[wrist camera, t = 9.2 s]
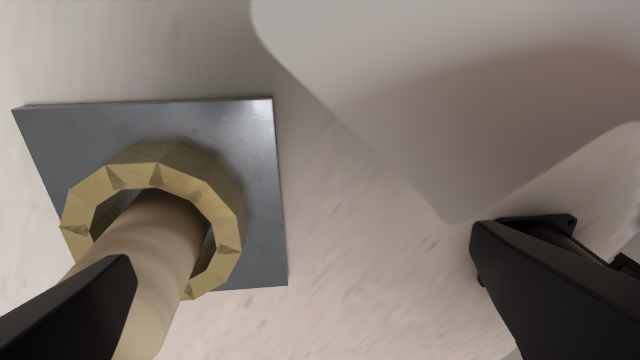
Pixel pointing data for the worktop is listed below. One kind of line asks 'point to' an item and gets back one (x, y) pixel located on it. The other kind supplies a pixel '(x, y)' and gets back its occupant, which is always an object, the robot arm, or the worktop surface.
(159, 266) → the piston
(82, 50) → the worktop surface
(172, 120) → the ring collar
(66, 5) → the worktop surface
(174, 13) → the worktop surface
